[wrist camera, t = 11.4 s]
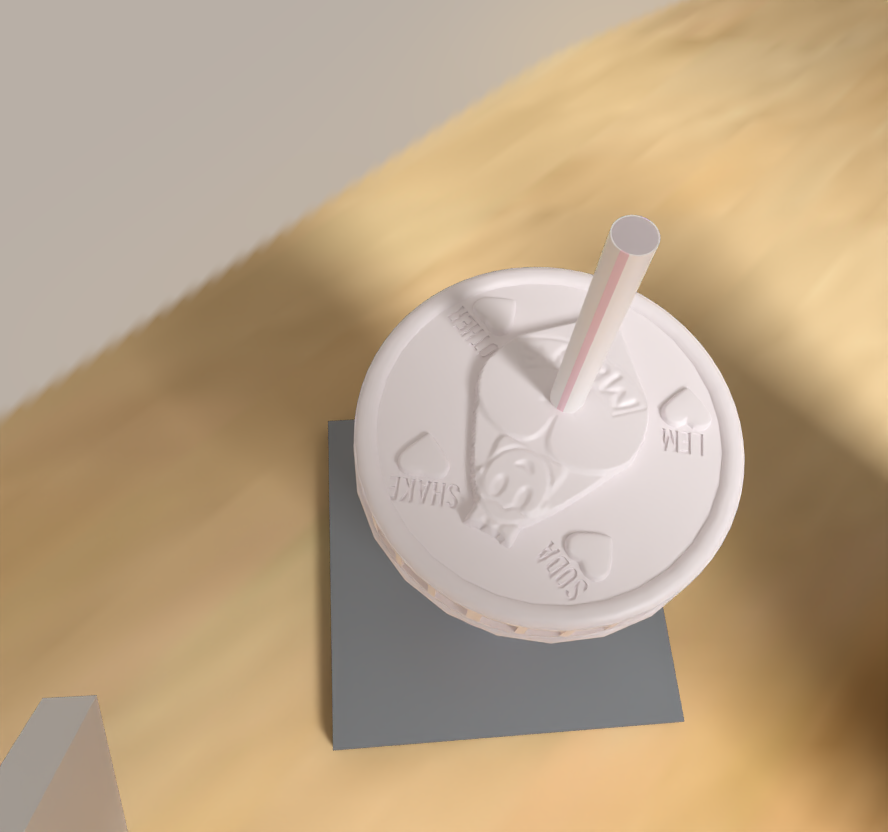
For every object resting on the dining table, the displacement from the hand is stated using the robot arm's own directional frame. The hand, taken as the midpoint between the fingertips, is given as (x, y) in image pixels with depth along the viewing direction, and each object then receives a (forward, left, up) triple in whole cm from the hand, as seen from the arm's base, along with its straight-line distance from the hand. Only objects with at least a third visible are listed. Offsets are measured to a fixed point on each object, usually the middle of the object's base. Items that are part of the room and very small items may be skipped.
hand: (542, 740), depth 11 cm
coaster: (0, -5, -9) cm, 10 cm away
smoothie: (0, -5, -8) cm, 10 cm away
